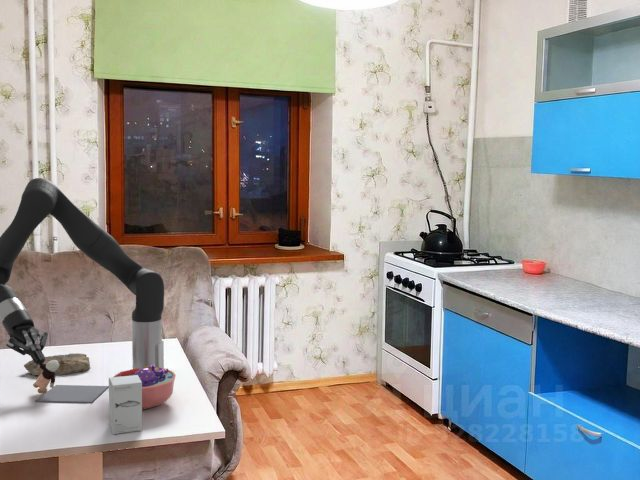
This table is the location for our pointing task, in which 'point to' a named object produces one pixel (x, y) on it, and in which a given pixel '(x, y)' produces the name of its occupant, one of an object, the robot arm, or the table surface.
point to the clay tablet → (62, 364)
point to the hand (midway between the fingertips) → (41, 362)
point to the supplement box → (125, 404)
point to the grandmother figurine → (46, 376)
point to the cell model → (153, 384)
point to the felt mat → (72, 394)
